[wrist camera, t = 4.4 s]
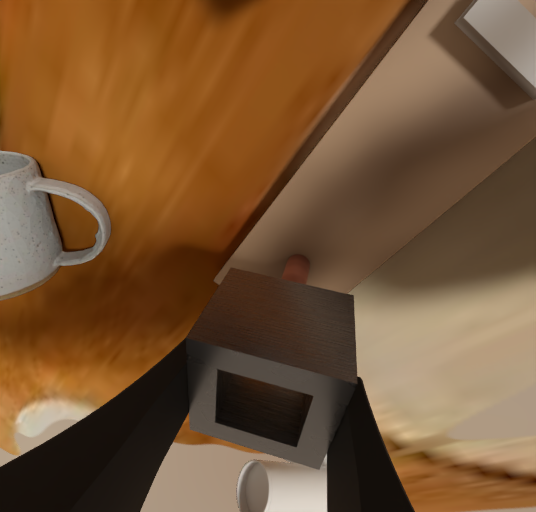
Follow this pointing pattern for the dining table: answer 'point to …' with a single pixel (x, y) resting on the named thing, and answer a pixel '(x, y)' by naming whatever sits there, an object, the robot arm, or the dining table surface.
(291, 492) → the white round-based angled piece
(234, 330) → the open square sleeve
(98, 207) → the ceramic mug
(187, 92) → the dining table surface
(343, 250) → the board
